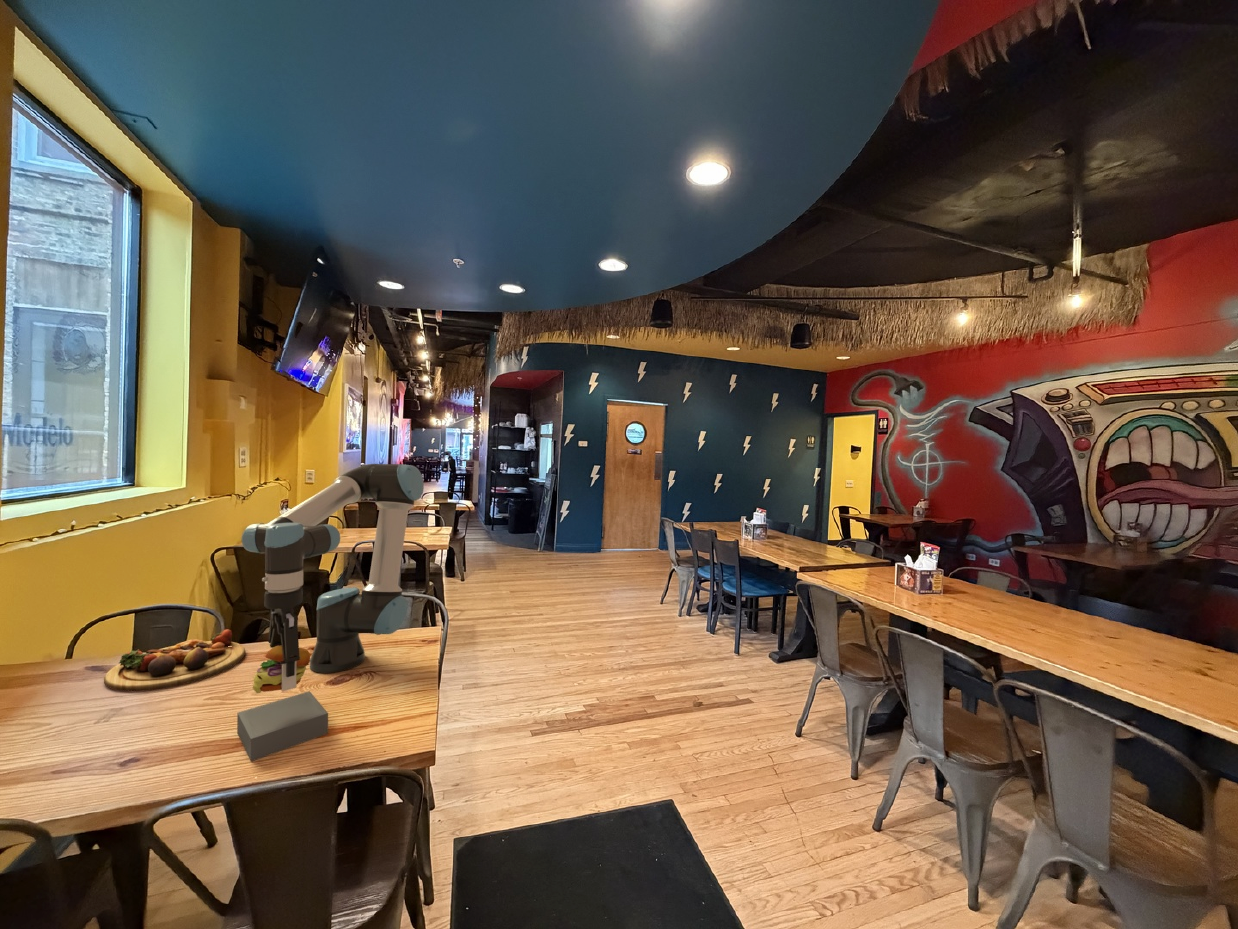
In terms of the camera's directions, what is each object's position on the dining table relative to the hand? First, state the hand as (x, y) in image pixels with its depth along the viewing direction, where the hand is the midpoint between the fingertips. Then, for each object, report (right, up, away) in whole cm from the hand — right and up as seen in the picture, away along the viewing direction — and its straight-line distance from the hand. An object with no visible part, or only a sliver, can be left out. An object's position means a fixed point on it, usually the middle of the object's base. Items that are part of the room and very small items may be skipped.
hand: (282, 681), depth 116 cm
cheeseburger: (0, -1, 0) cm, 1 cm away
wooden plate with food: (-55, -11, +34) cm, 66 cm away
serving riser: (0, -13, 0) cm, 13 cm away
